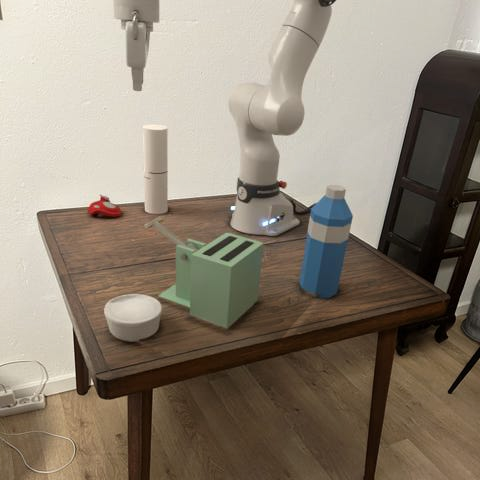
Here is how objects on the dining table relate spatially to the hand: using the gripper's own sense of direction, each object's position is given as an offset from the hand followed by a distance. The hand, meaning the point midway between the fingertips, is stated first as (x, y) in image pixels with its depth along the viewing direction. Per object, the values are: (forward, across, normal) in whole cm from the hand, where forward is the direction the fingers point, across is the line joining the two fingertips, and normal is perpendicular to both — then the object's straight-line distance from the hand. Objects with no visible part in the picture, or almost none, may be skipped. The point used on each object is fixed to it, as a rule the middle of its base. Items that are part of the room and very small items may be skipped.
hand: (138, 87), depth 105 cm
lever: (+28, -17, -7) cm, 33 cm away
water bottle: (+40, -15, -42) cm, 60 cm away
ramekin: (+41, -32, +1) cm, 52 cm away
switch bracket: (+40, -20, -11) cm, 46 cm away
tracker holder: (+40, +33, +12) cm, 53 cm away
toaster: (+40, -25, -18) cm, 51 cm away
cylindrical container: (+40, +36, -3) cm, 54 cm away
